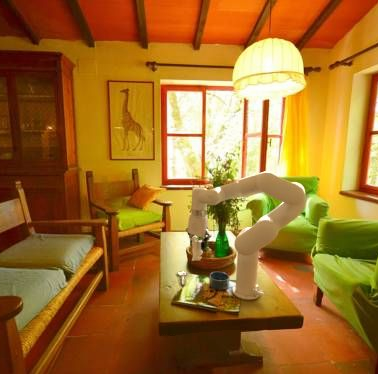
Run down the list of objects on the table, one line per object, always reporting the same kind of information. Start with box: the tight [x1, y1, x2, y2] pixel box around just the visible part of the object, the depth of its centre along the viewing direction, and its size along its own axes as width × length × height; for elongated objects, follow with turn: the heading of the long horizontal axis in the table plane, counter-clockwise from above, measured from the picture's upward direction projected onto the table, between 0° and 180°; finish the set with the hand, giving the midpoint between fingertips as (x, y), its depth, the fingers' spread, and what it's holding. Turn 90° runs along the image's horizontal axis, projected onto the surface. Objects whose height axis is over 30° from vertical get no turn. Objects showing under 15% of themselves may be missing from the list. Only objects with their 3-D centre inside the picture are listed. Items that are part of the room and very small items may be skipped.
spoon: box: [177, 270, 187, 286], centre depth 132 cm, size 14×4×1 cm, turn 4°
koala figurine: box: [188, 236, 204, 262], centre depth 128 cm, size 8×7×12 cm
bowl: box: [208, 271, 231, 291], centre depth 126 cm, size 10×10×5 cm
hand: (197, 246), depth 128 cm, fingers closed on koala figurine, 6 cm apart
